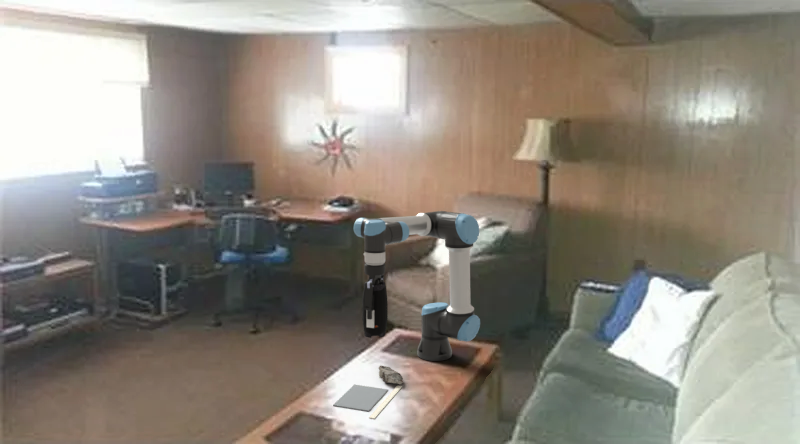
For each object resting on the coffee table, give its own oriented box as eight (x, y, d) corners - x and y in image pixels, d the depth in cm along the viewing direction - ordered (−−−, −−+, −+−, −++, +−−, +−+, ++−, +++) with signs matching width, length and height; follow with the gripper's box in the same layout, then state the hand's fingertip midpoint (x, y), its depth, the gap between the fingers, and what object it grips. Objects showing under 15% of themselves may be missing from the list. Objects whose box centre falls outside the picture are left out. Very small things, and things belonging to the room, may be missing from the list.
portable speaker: (384, 339, 252) (384, 287, 248) (359, 337, 254) (358, 285, 251) (390, 332, 260) (390, 281, 256) (366, 330, 262) (365, 279, 259)
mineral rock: (405, 386, 273) (406, 375, 272) (386, 388, 271) (386, 377, 270) (396, 373, 287) (396, 362, 286) (377, 375, 285) (377, 364, 284)
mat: (354, 385, 274) (354, 384, 274) (388, 390, 270) (388, 389, 270) (333, 405, 255) (333, 404, 255) (368, 411, 251) (368, 410, 251)
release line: (397, 386, 274) (397, 385, 274) (402, 386, 273) (402, 386, 273) (369, 418, 246) (369, 417, 246) (374, 419, 245) (374, 418, 245)
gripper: (374, 256, 263) (374, 314, 267) (354, 268, 243) (354, 331, 247) (393, 257, 261) (393, 316, 265) (374, 270, 241) (374, 333, 245)
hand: (374, 323), depth 256 cm, fingers closed on portable speaker, 8 cm apart
